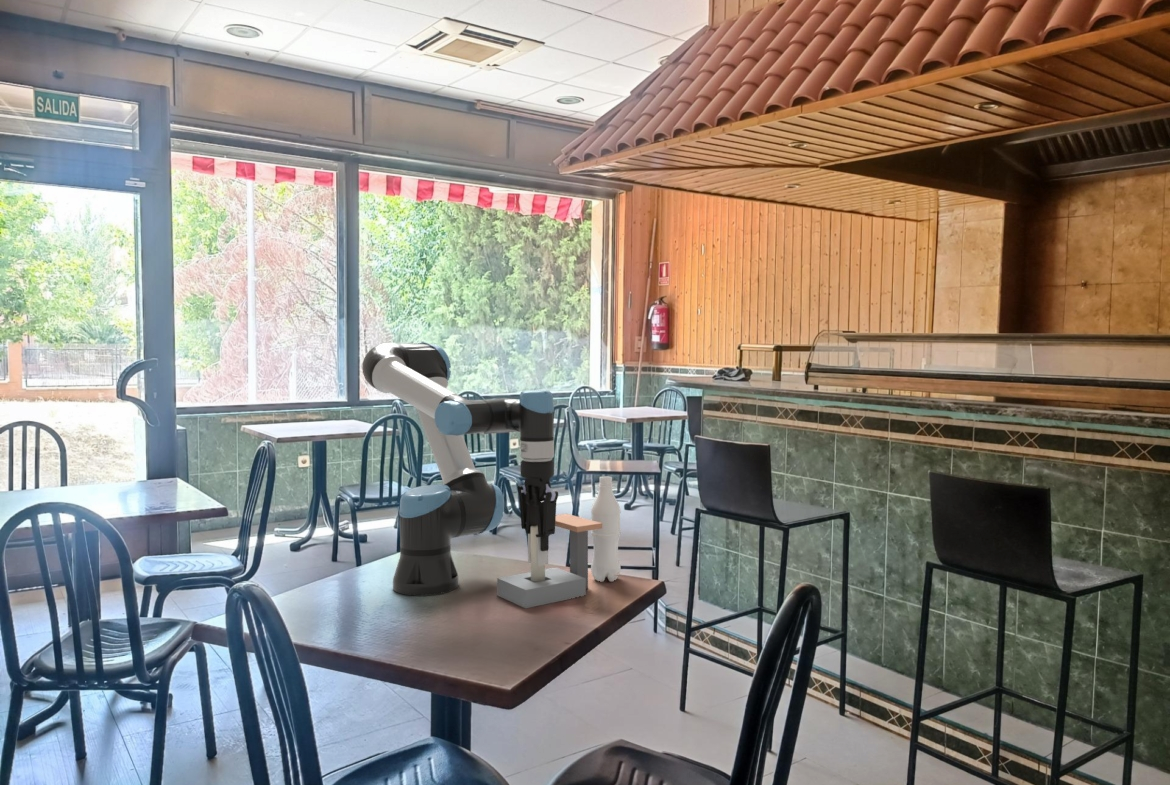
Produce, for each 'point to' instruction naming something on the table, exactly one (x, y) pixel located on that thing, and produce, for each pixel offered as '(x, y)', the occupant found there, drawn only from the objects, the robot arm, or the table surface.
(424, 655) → the table surface
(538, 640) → the table surface
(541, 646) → the table surface
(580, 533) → the wooden topped pedestal
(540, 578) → the peg
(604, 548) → the water bottle
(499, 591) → the socket block
